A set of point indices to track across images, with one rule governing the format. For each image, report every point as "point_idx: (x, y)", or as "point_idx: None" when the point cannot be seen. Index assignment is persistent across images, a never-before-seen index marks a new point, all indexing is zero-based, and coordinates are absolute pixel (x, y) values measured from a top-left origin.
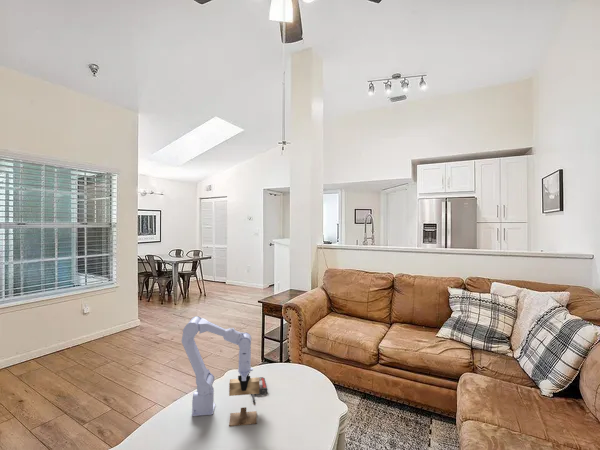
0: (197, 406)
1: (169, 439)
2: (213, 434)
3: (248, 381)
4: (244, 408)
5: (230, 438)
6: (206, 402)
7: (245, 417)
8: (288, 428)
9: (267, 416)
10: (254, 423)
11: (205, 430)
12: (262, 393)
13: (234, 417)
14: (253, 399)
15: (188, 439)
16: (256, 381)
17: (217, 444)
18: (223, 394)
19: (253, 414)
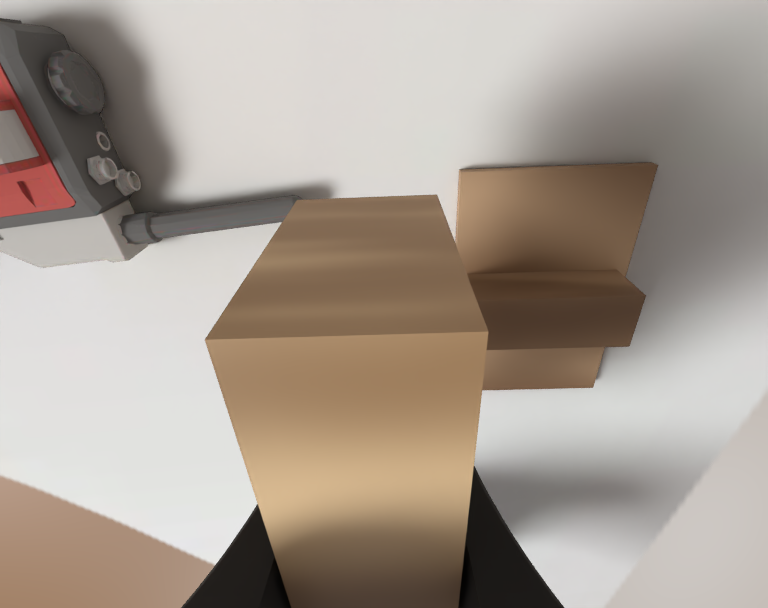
0: None
1: (586, 588)
2: (634, 451)
3: (438, 560)
4: (490, 317)
5: (729, 359)
6: None
7: (643, 299)
8: None
9: (567, 20)
10: (649, 185)
11: (577, 488)
12: (103, 101)
13: (512, 361)
14: (273, 219)
15: (620, 537)
16: (474, 409)
17: (742, 422)
18: (191, 448)
19: (510, 203)
